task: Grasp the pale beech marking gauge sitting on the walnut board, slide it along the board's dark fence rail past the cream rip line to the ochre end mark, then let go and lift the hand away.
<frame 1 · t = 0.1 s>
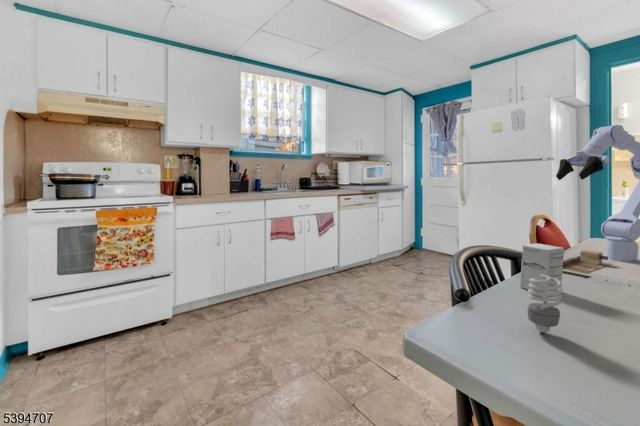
hand: (569, 177, 109), 32 cm above the table, tool tilted 50°, fingers open, 7 cm apart
marking gauge: (590, 262, 114), point 1 cm above the table, touching board
light bulb: (541, 333, 65), on the table
board: (584, 269, 111), on the table
supplement box: (540, 290, 91), on the table
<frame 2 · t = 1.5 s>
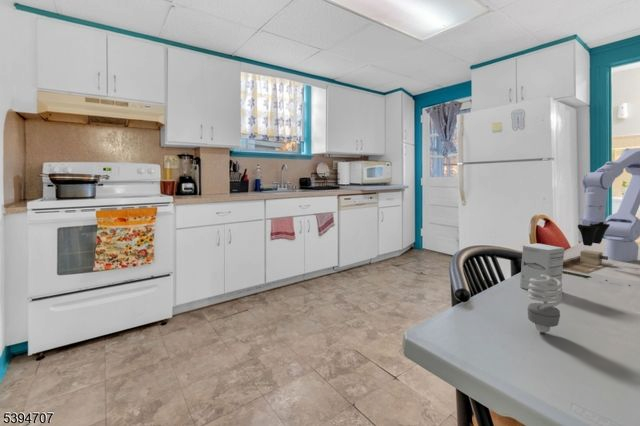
hand: (592, 244, 114), 8 cm above the table, tool pointing down, fingers open, 7 cm apart
nothing on the table moved.
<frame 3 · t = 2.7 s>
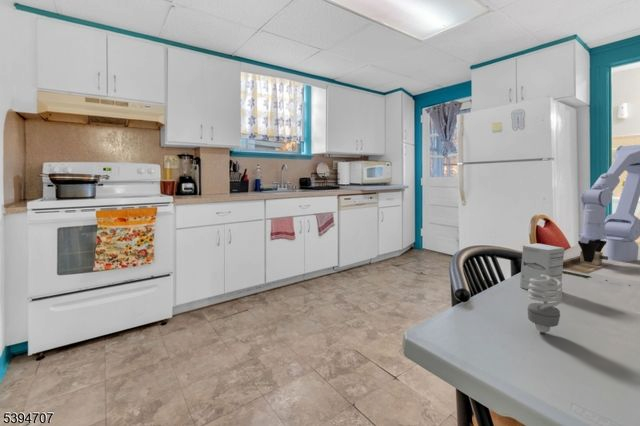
hand: (590, 260, 114), 2 cm above the table, tool pointing down, fingers closed on marking gauge, 4 cm apart
marking gauge: (590, 262, 114), point 1 cm above the table, touching board, gripper
everything else where it was.
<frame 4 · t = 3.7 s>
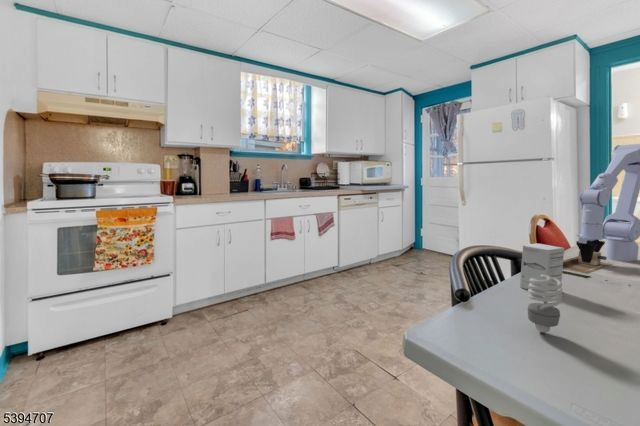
hand: (589, 261, 113), 2 cm above the table, tool pointing down, fingers closed on marking gauge, 4 cm apart
marking gauge: (589, 263, 113), point 2 cm above the table, touching gripper
everything else where it was.
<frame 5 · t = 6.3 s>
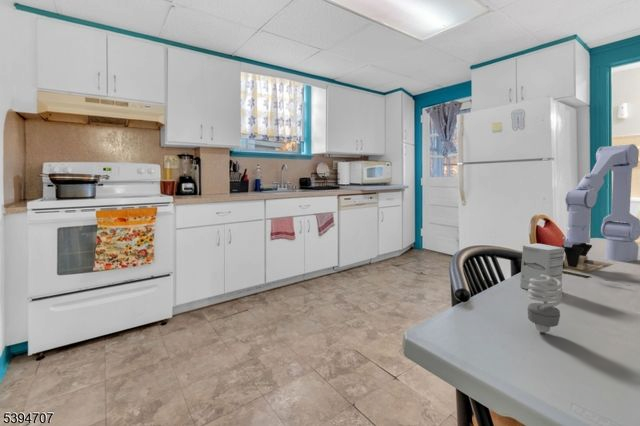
hand: (575, 265, 108), 2 cm above the table, tool pointing down, fingers closed on marking gauge, 4 cm apart
marking gauge: (575, 267, 108), point 2 cm above the table, touching gripper
everything else where it was.
when the fingers open (2 cm above the table, at t = 7.2 s): marking gauge stays where it is, resting on board.
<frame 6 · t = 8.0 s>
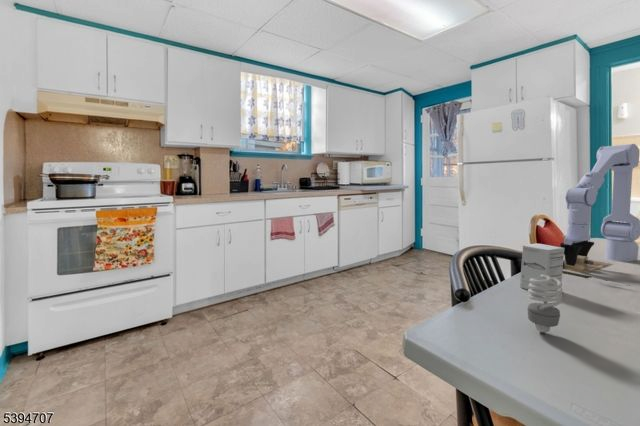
hand: (575, 263, 108), 3 cm above the table, tool pointing down, fingers open, 7 cm apart
marking gauge: (575, 267, 108), point 1 cm above the table, touching board
everything else where it was.
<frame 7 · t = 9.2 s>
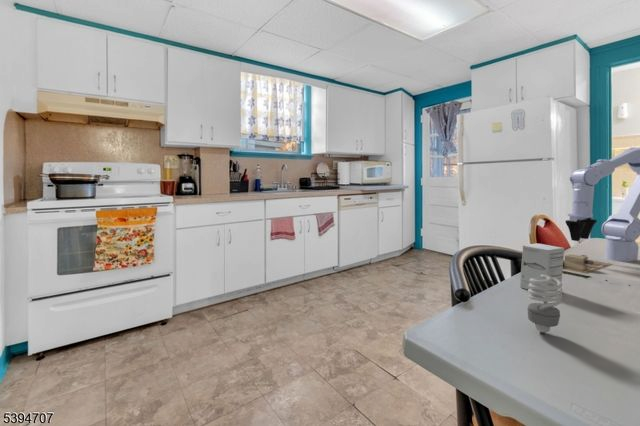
hand: (579, 239, 117), 9 cm above the table, tool pointing down, fingers open, 7 cm apart
nothing on the table moved.
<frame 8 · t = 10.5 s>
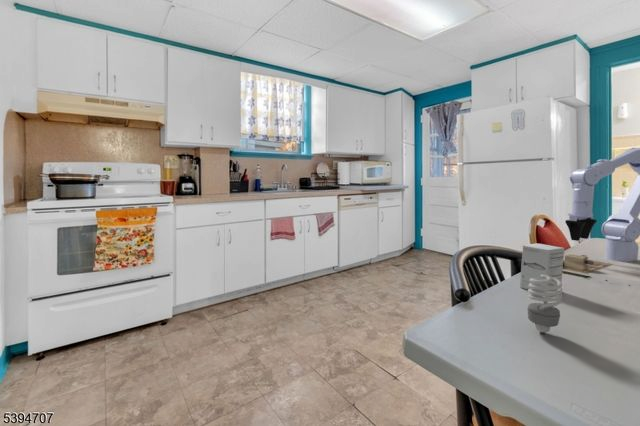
hand: (579, 239, 117), 9 cm above the table, tool pointing down, fingers open, 7 cm apart
nothing on the table moved.
at the end: marking gauge 0.2 cm from the target spot on the board, point 1.5 cm above the board's base; the gripper is holding nothing; marking gauge tilted 0° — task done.
